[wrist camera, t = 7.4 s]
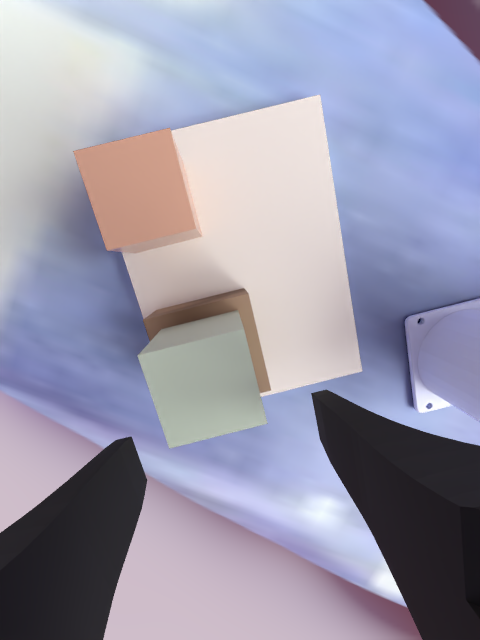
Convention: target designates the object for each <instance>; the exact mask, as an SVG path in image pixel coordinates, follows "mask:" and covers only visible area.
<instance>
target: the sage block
mask: <svg viewBox="0 0 480 640" xmlns="http://www.w3.org/2000/svg"><path fill="white" fill-rule="evenodd" d="M138 359H139V362H140V365H141V367H142V370H143V373H144V376H145V379H146V382H147V385H148V388H149V391H150V394H151V396H152V399H153V402H154V405H155V408H156V411H157V414H158V417H159V420H160V423H161V426H162V428H163V431H164V434H165V437H166V440H167V443H168V446H169V449H170V448H174V447H178V446H182V445H186V444H190V443H194V442H197V441H201V440H205V439H209V438H213V437H217V436H221V435H225V434H229V433H233V432H237V431H241V430H245V429H248V428H252V427H256V426H260V425H264V424H267V420H266V416H265V412H264V408H263V404H262V400H261V396H260V392H259V388H258V384H257V380H256V375H255V371H254V367H253V363H252V359H251V355H250V351H249V347H248V343H247V339H246V335H245V331H244V327H243V324H242V321H241V318H240V315H239V312H238V310H236V311H232V312H228V313H224V314H220V315H216V316H212V317H208V318H204V319H200V320H196V321H192V322H188V323H184V324H180V325H176V326H172V327H168V328H164V329H161V330H160V331H159V332H158V334H157V335H156V336H155V337H154V338H153V339H152V340H151V341H150V342H149V343H148V345H147V346H146V347H145V348H144V349H143V350H142V351H141V352H140V353H139V355H138Z"/></svg>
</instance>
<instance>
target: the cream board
mask: <svg viewBox="0 0 480 640" xmlns="http://www.w3.org/2000/svg"><path fill="white" fill-rule="evenodd" d="M171 132H172V135H173V137H174V140H175V142H176V145H177V147H178V150H179V152H180V155H181V157H182V160H183V162H184V166H185V170H186V174H187V178H188V182H189V185H190V189H191V193H192V197H193V201H194V205H195V208H196V212H197V216H198V220H199V224H200V228H201V232H202V235H203V237H200V238H196V239H192V240H188V241H184V242H179V243H175V244H171V245H167V246H163V247H159V248H155V249H151V250H147V251H143V252H139V253H126V252H122V254H123V257H124V261H125V264H126V267H127V270H128V273H129V276H130V279H131V282H132V285H133V288H134V291H135V294H136V297H137V300H138V303H139V306H140V309H141V313H142V316H143V319H145V318H146V317H147V316H149V315H150V314H152V313H153V312H154V311H156V310H158V309H162V308H166V307H170V306H174V305H178V304H182V303H186V302H190V301H194V300H198V299H202V298H206V297H210V296H214V295H218V294H222V293H226V292H230V291H234V290H238V289H242V288H244V289H245V290H246V291H247V292H248V293H249V298H250V302H251V306H252V310H253V315H254V319H255V323H256V327H257V332H258V336H259V340H260V344H261V349H262V353H263V357H264V361H265V366H266V370H267V374H268V378H269V383H270V387H271V391H267V392H263V393H260V396H261V397H263V396H267V395H271V394H275V393H279V392H283V391H287V390H291V389H295V388H299V387H303V386H306V385H310V384H314V383H318V382H322V381H326V380H330V379H334V378H338V377H342V376H346V375H350V374H354V373H358V372H362V366H361V360H360V353H359V347H358V340H357V334H356V327H355V321H354V314H353V307H352V301H351V294H350V288H349V281H348V275H347V268H346V261H345V255H344V248H343V242H342V235H341V229H340V222H339V215H338V209H337V202H336V196H335V189H334V183H333V176H332V170H331V163H330V156H329V150H328V143H327V137H326V130H325V124H324V117H323V110H322V104H321V97H320V95H316V96H312V97H308V98H304V99H300V100H295V101H291V102H287V103H283V104H279V105H275V106H271V107H267V108H262V109H258V110H254V111H250V112H246V113H242V114H238V115H234V116H229V117H225V118H221V119H217V120H213V121H209V122H205V123H201V124H196V125H192V126H188V127H184V128H180V129H176V130H172V131H171Z"/></svg>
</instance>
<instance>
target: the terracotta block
mask: <svg viewBox="0 0 480 640" xmlns="http://www.w3.org/2000/svg"><path fill="white" fill-rule="evenodd" d="M73 152H74V155H75V158H76V161H77V164H78V167H79V170H80V173H81V176H82V179H83V181H84V184H85V187H86V190H87V193H88V196H89V199H90V202H91V205H92V208H93V211H94V214H95V217H96V220H97V223H98V226H99V229H100V232H101V235H102V238H103V241H104V244H105V247H106V249H107V251H116V252H126V253H139V252H143V251H147V250H151V249H155V248H159V247H163V246H167V245H171V244H175V243H179V242H184V241H188V240H192V239H196V238H200V237H203V235H202V232H201V228H200V224H199V220H198V216H197V212H196V208H195V205H194V201H193V197H192V193H191V189H190V185H189V182H188V178H187V174H186V170H185V166H184V162H183V160H182V157H181V155H180V152H179V150H178V147H177V145H176V142H175V140H174V137H173V135H172V132H171V130H170V128H167V129H163V130H159V131H155V132H150V133H146V134H142V135H138V136H134V137H130V138H126V139H122V140H117V141H113V142H109V143H105V144H101V145H97V146H93V147H89V148H84V149H80V150H76V151H73Z"/></svg>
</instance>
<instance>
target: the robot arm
mask: <svg viewBox="0 0 480 640" xmlns="http://www.w3.org/2000/svg"><path fill="white" fill-rule="evenodd" d="M420 318H421V321H420V323H418V320H419V319H420ZM405 330H406V339H407V348H408V357H409V366H410V375H411V384H412V393H413V402H414V408H415V410H417V411H418V412H419V413H425V412H428V411H432V410H436V409H440V408H444V407H448V406H452V405H453V406H454V407H456V408H458V409H459V410H461V411H462V412H464V413H466V414H467V415H469V416H470V417H472V418H474V419H475V420H477V421H478V422H480V298H479V299H475V300H471V301H467V302H463V303H459V304H455V305H451V306H447V307H443V308H439V309H435V310H431V311H427V312H423V313H419V314H415V315H411V316H409V317H407V318H406V320H405ZM311 394H312V399H313V404H314V410H315V415H316V420H317V426H318V431H319V436H320V440H321V442H322V444H323V447H324V449H325V451H326V454H327V456H328V458H329V460H330V462H331V464H332V466H333V467H334V469H335V471H336V473H337V474H338V476H339V478H340V479H341V481H342V483H343V484H344V486H345V488H346V489H347V491H348V493H349V494H350V496H351V498H352V499H353V501H354V503H355V504H356V506H357V508H358V509H359V511H360V513H361V514H362V516H363V518H364V519H365V521H366V523H367V525H368V527H369V529H370V530H371V532H372V534H373V536H374V538H375V540H376V542H377V544H378V546H379V548H380V550H381V552H382V555H383V557H384V559H385V561H386V563H387V565H388V567H389V569H390V571H391V573H392V575H393V577H394V579H395V582H396V584H397V586H398V588H399V590H400V592H401V594H402V596H403V598H404V601H405V603H406V605H407V607H408V609H409V611H410V613H411V615H412V618H413V620H414V622H415V624H416V626H417V629H418V630H419V633H420V635H421V637H422V639H423V640H480V446H478V445H473V444H469V443H464V442H460V441H456V440H452V439H448V438H444V437H440V436H437V435H433V434H430V433H426V432H423V431H420V430H417V429H414V428H411V427H408V426H405V425H402V424H399V423H397V422H394V421H392V420H389V419H387V418H384V417H382V416H380V415H377V414H375V413H373V412H371V411H368V410H366V409H364V408H362V407H360V406H358V405H356V404H354V403H352V402H350V401H348V400H346V399H344V398H342V397H340V396H338V395H336V394H334V393H333V392H330V391H328V390H323V391H319V392H315V393H311ZM428 403H429V404H428ZM427 404H428V406H426V405H427ZM146 484H147V479H146V476H145V473H144V470H143V467H142V465H141V462H140V459H139V456H138V453H137V451H136V448H135V445H134V442H133V439H132V437H127V438H123V439H119V440H116V441H114V442H113V443H111V444H110V445H109V446H107V447H106V448H105V449H104V450H103V451H101V452H100V453H99V454H98V455H97V456H96V457H94V458H93V459H92V460H91V461H90V462H89V463H87V465H85V466H84V467H83V468H82V469H81V470H79V471H78V472H77V473H76V474H75V475H74V476H73V477H71V478H70V479H69V480H68V481H67V482H65V483H64V484H63V485H62V486H61V487H59V488H58V489H57V490H56V491H55V492H53V493H52V494H51V495H50V496H48V497H47V498H46V499H45V500H44V501H42V502H41V503H40V504H39V505H37V506H36V507H35V508H33V509H32V510H31V511H29V512H28V513H27V514H26V515H24V516H23V517H22V518H20V519H19V520H17V521H16V522H15V523H13V524H12V525H11V526H9V527H8V528H6V529H5V530H4V531H3V532H1V533H0V640H103V638H104V633H105V629H106V625H107V621H108V617H109V613H110V608H111V604H112V600H113V596H114V593H115V590H116V586H117V583H118V579H119V576H120V573H121V570H122V567H123V564H124V561H125V558H126V555H127V552H128V549H129V546H130V543H131V540H132V537H133V534H134V531H135V528H136V525H137V521H138V518H139V515H140V512H141V509H142V504H143V500H144V495H145V489H146Z"/></svg>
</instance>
